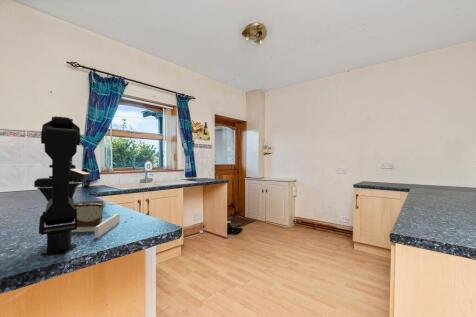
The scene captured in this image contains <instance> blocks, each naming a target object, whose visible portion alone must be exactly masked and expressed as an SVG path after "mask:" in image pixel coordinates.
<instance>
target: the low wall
mask: <svg viewBox="0 0 476 317" xmlns="http://www.w3.org/2000/svg"><path fill="white" fill-rule="evenodd" d="M120 215H121V214H120V213H119V212H118V213H116V214H114V215H112V216H111V217H109V218H107V219H106V220H104V221H102V223H101V224H99V225H97V226H96V227H95V231H94V239H99V238H100V237H101V236H103V235H104V234H105V233H107V232H108V231H109V230H111V229H113V228H114V227H115V226H116V225H117V223H118V224H119V223H120V219H121V218H120Z"/></svg>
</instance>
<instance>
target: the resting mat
mask: <svg viewBox="0 0 476 317" xmlns="http://www.w3.org/2000/svg"><path fill="white" fill-rule="evenodd" d="M102 222H103V221H102ZM102 222H101V223H102ZM81 232H82V233H83V232H84V233H85V232H87V233H89V232H95V227H77V230H72V233H81Z"/></svg>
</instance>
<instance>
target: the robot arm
mask: <svg viewBox="0 0 476 317" xmlns="http://www.w3.org/2000/svg"><path fill="white" fill-rule="evenodd" d="M73 121H74V120H73V118H71V117H68V116H67V117H65V116H64V117H63V116H57V115H55V116H51V120H49V121H48V122H45V123H43V124H42V128H41V133H40V142H41V144H44V153H45V154H46V155H47V156H48V157H49V158H50V159H51V161H52V162H51V164H49V167H48V168H49V169H50V168H51V173H52V174H51V175H49V176H48V177H42V178H36V179H35V180H34V182H33V187H34V188H36V189H37V190H39V191H40V192H41V193H42V195H43V196H44V198H45V199H46V201H47V203H46V205H45V206H46V207H45V211H43V212H42V214H41V215H40V217H39V221H38V222H39V223H38V224H39V225H38V235H41V236H43V235H46V249H45V250H43V251H42V252H40V255H41V256H43V255H63V254H65V253H67V252H69V251H71V250H72V249H73V248H75V247H77V243H72V241H73V240H72V235H73V232H72V230H77V208H75V209H74V203H75V201H74V198H73V197H74V195H75V192H76V190H77V188H78V187H79V186H80V185H82V184H83V183H84V182H87V181H88V179H89V178H90V177H91V172H90V169H88V168H83V169H77V168H76V165H75V164H73V157H74V156H75V155H76V154H77V152H78V151H77V150H78V148H77V147H78V146H80V144H81V128H80V127H79V126H78V125H77V124H75V122H73Z"/></svg>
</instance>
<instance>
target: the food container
mask: <svg viewBox="0 0 476 317" xmlns="http://www.w3.org/2000/svg"><path fill="white" fill-rule="evenodd" d="M75 208H77V227H96V226H97V225H99V224H101V222H103V221H102V220H103V212H104V208H106V204H105V201H103V200H86V201H85V200H83V201H78V202H77V201H76V202H74V209H75Z"/></svg>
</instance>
